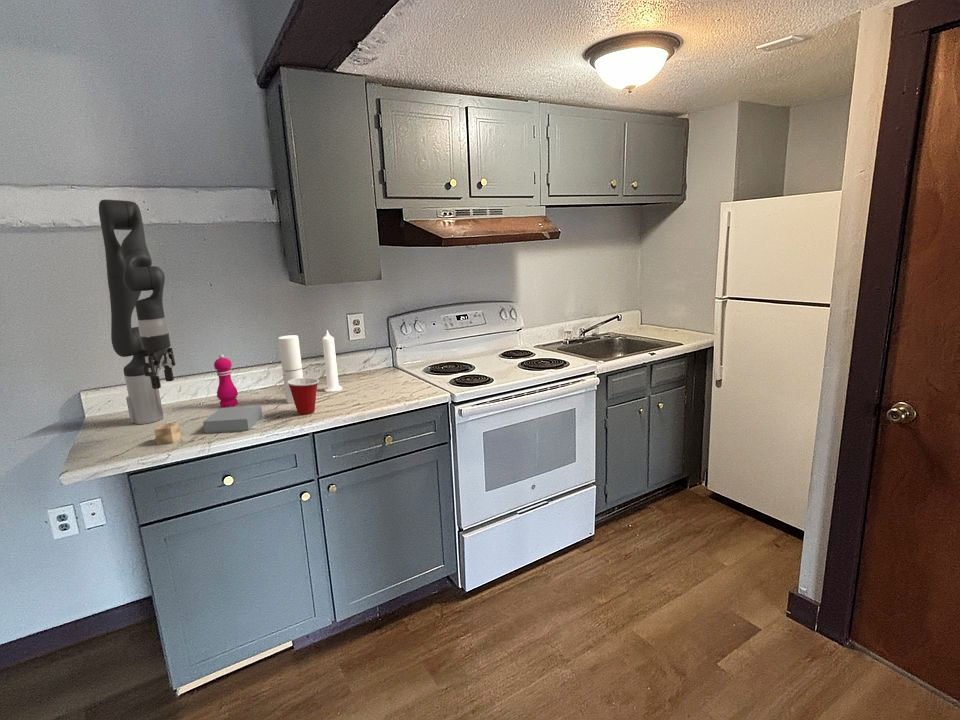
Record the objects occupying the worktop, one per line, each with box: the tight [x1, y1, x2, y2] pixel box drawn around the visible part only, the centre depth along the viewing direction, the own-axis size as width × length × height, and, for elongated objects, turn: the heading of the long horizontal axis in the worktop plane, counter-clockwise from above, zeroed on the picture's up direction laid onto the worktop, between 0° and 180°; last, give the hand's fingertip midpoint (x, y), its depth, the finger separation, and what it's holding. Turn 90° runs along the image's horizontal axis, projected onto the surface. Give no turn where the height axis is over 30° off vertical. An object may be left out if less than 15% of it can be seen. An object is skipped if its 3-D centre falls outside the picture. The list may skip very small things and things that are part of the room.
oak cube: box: [153, 422, 182, 445], centre depth 169 cm, size 5×5×5 cm
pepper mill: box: [213, 353, 239, 408], centre depth 202 cm, size 7×7×20 cm
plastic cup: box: [287, 377, 320, 416], centre depth 191 cm, size 11×11×12 cm
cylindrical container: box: [277, 334, 304, 404], centre depth 204 cm, size 7×7×25 cm
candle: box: [321, 329, 343, 393], centre depth 217 cm, size 7×7×25 cm
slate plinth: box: [202, 405, 263, 434], centre depth 182 cm, size 14×14×4 cm
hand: (163, 384), depth 166 cm, fingers open, 8 cm apart
